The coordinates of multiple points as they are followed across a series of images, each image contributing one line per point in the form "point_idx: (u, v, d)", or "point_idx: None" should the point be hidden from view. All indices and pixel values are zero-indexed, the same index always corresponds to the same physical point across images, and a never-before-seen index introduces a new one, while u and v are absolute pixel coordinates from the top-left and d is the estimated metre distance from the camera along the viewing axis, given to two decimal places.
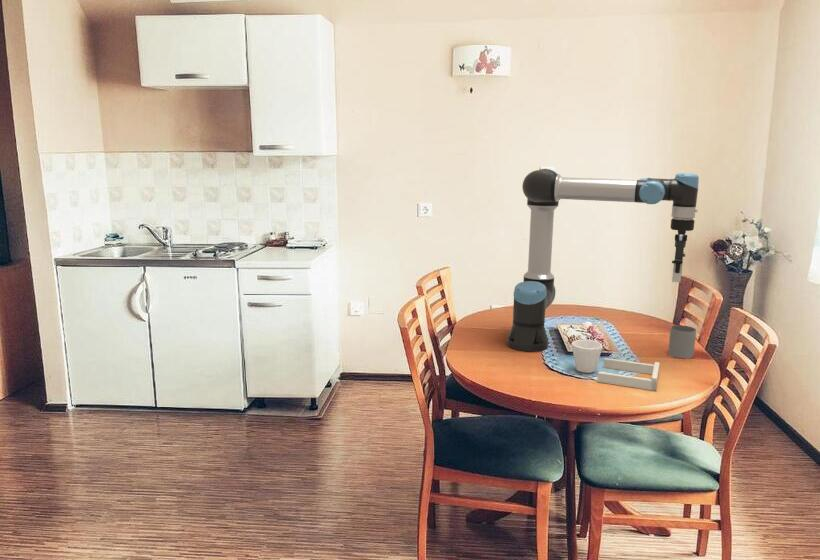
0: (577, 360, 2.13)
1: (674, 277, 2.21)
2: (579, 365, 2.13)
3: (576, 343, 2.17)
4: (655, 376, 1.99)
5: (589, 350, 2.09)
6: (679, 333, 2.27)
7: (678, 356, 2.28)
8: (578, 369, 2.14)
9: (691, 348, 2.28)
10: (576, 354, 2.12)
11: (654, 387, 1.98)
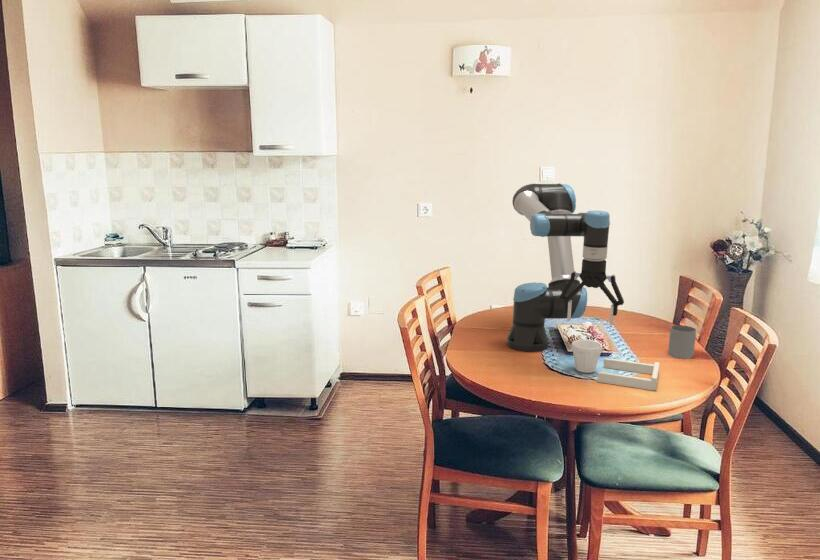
0: (577, 360, 2.13)
1: None
2: (579, 365, 2.13)
3: (576, 343, 2.17)
4: (655, 376, 1.99)
5: (589, 350, 2.09)
6: (679, 333, 2.27)
7: (678, 356, 2.28)
8: (578, 369, 2.14)
9: (691, 348, 2.28)
10: (576, 354, 2.12)
11: (654, 387, 1.98)
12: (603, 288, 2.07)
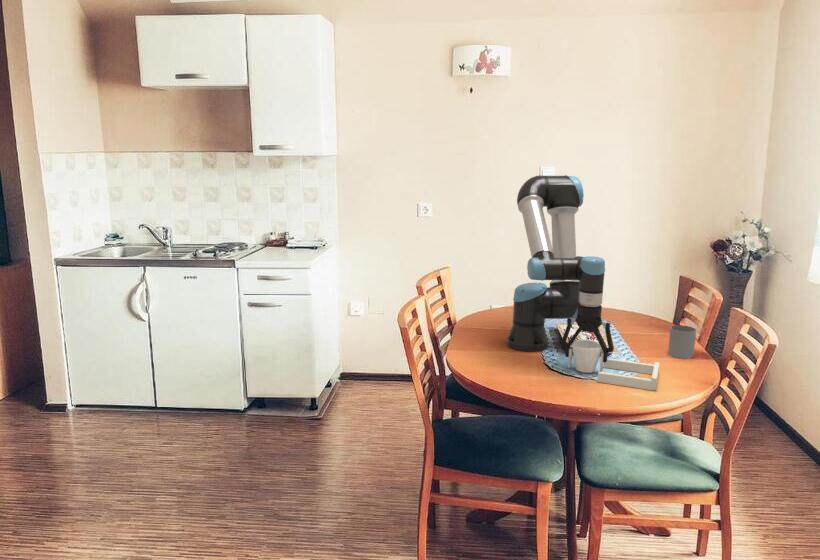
0: (577, 360, 2.13)
1: None
2: (579, 365, 2.13)
3: (576, 343, 2.17)
4: (655, 376, 1.99)
5: (589, 350, 2.09)
6: (679, 333, 2.27)
7: (678, 356, 2.28)
8: (578, 369, 2.14)
9: (691, 348, 2.28)
10: (576, 354, 2.12)
11: (654, 387, 1.98)
12: (596, 334, 2.10)
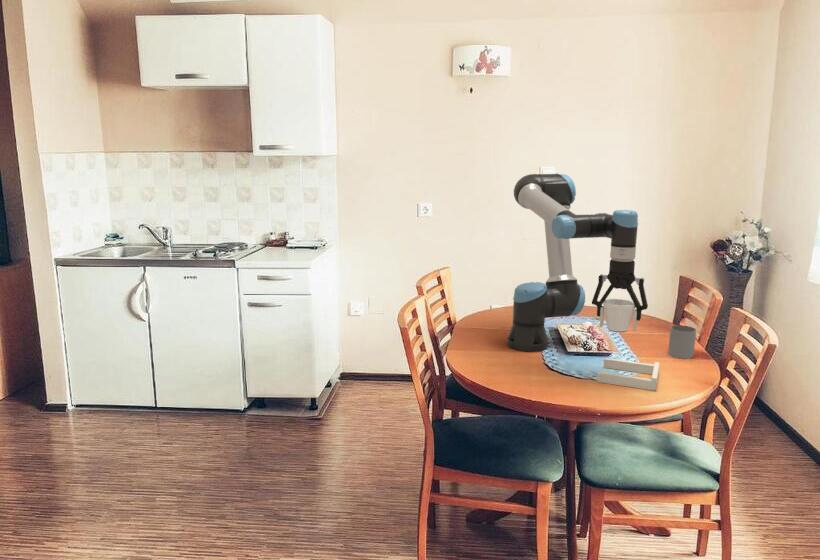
0: (609, 318, 2.04)
1: None
2: (611, 324, 2.04)
3: (608, 302, 2.08)
4: (655, 376, 1.99)
5: (622, 306, 2.00)
6: (679, 333, 2.27)
7: (678, 356, 2.28)
8: (610, 328, 2.05)
9: (691, 348, 2.28)
10: (608, 312, 2.04)
11: (654, 387, 1.98)
12: (630, 290, 2.02)
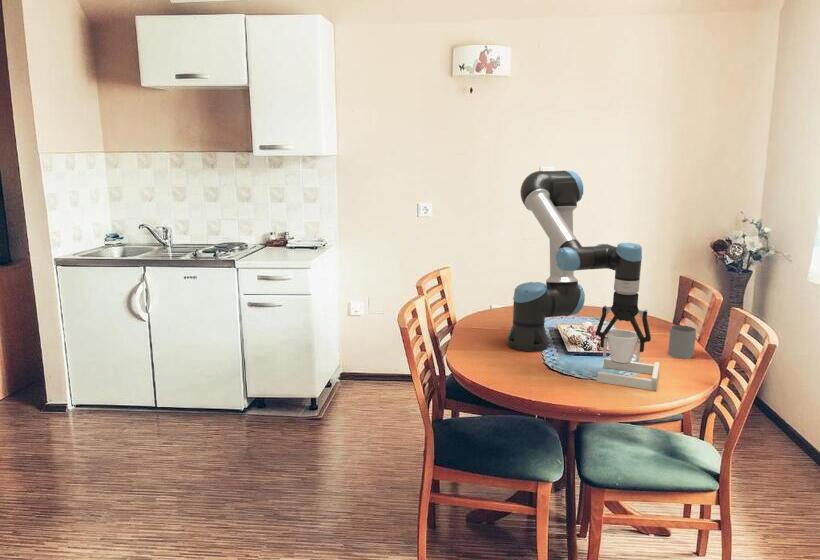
0: (613, 350, 2.06)
1: None
2: (615, 355, 2.06)
3: (611, 333, 2.10)
4: (655, 376, 1.99)
5: (626, 339, 2.02)
6: (679, 333, 2.27)
7: (678, 356, 2.28)
8: (614, 359, 2.07)
9: (691, 348, 2.28)
10: (612, 344, 2.05)
11: (654, 387, 1.98)
12: (633, 323, 2.04)
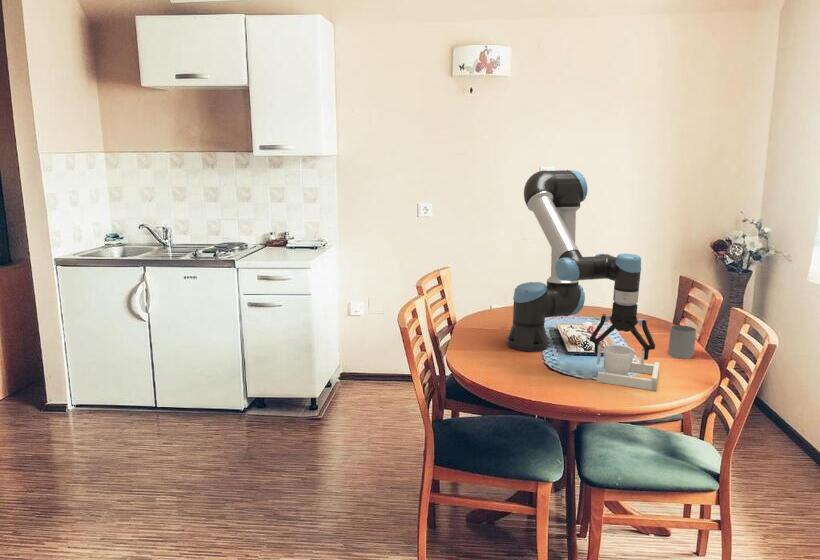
0: (609, 366, 2.08)
1: None
2: (611, 371, 2.08)
3: (607, 348, 2.12)
4: (655, 376, 1.99)
5: (622, 355, 2.04)
6: (679, 333, 2.27)
7: (678, 356, 2.28)
8: None
9: (691, 348, 2.28)
10: (608, 360, 2.07)
11: (654, 387, 1.98)
12: (634, 332, 2.04)
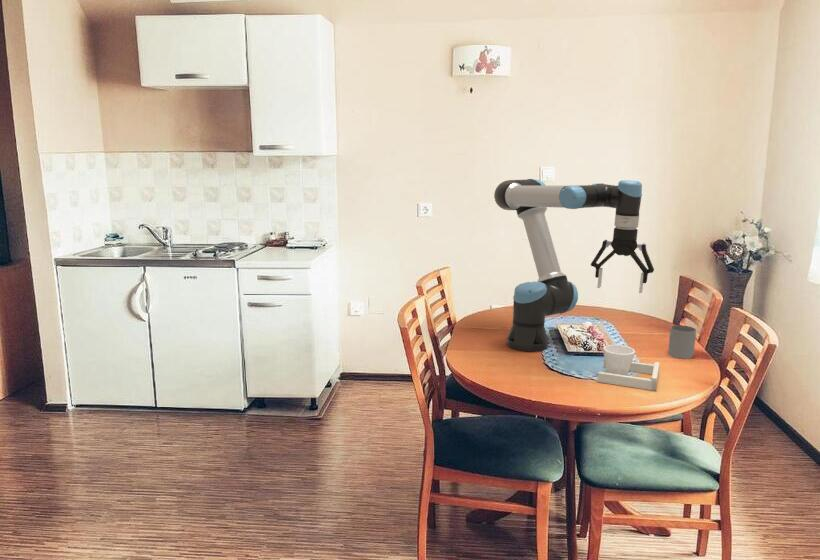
0: (609, 366, 2.08)
1: None
2: (611, 371, 2.08)
3: (607, 348, 2.12)
4: (655, 376, 1.99)
5: (622, 355, 2.04)
6: (679, 333, 2.27)
7: (678, 356, 2.28)
8: None
9: (691, 348, 2.28)
10: (608, 360, 2.07)
11: (654, 387, 1.98)
12: (634, 256, 2.12)
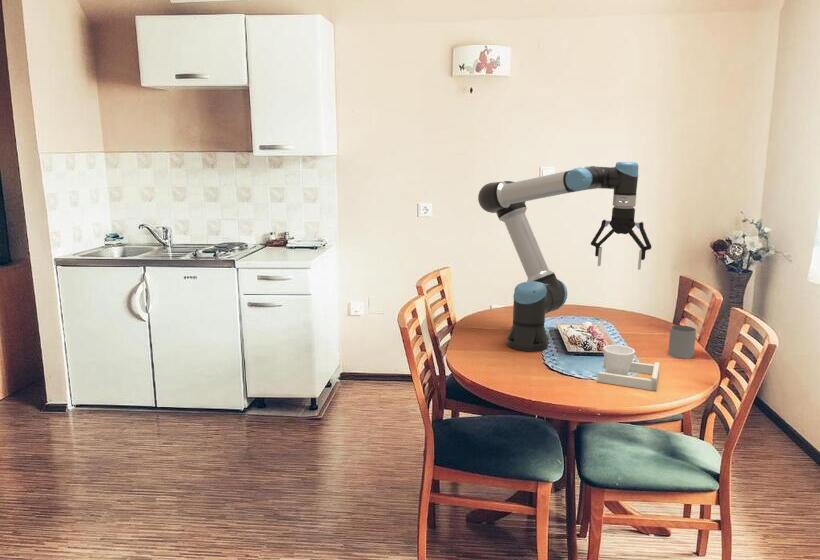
0: (609, 366, 2.08)
1: None
2: (611, 371, 2.08)
3: (607, 348, 2.12)
4: (655, 376, 1.99)
5: (622, 355, 2.04)
6: (679, 333, 2.27)
7: (678, 356, 2.28)
8: None
9: (691, 348, 2.28)
10: (608, 359, 2.07)
11: (654, 387, 1.98)
12: (632, 234, 2.21)
